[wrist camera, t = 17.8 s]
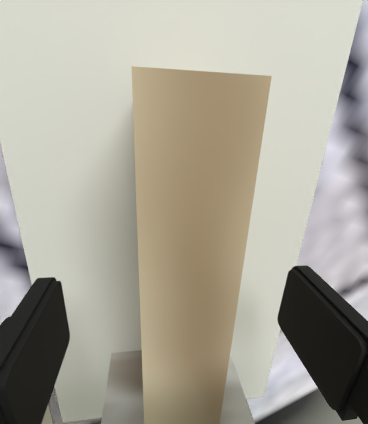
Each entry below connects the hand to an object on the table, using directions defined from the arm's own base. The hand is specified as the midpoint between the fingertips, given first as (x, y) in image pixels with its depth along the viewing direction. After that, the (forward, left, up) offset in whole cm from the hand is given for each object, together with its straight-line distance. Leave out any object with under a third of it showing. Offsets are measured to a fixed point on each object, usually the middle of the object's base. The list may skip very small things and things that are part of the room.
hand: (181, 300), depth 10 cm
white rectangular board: (0, 0, -4) cm, 4 cm away
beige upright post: (0, 0, -3) cm, 3 cm away
